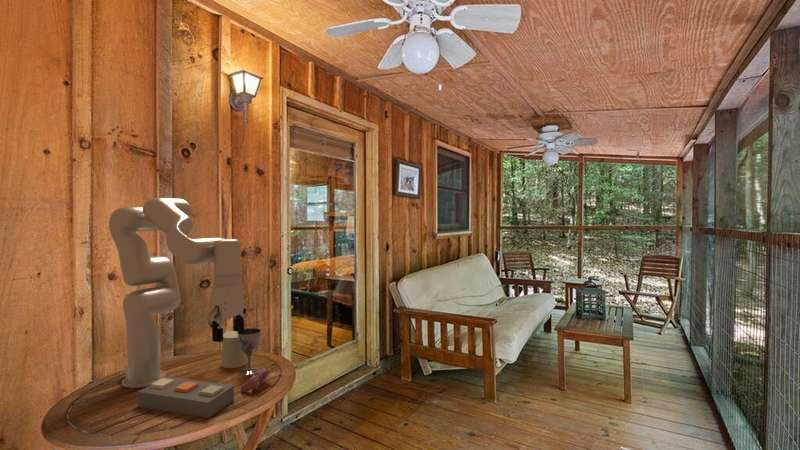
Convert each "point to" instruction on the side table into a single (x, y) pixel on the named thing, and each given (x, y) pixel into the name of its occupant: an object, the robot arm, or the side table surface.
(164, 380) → the button cream
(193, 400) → the button panel
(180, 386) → the button orange
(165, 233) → the robot arm
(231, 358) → the can
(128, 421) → the side table surface
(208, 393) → the button sage
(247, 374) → the wine glass
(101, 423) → the side table surface
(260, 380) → the video game controller
